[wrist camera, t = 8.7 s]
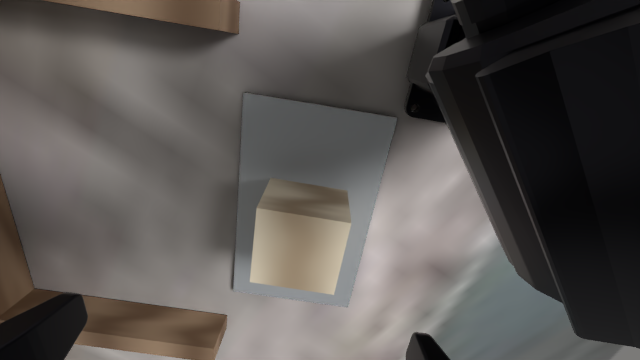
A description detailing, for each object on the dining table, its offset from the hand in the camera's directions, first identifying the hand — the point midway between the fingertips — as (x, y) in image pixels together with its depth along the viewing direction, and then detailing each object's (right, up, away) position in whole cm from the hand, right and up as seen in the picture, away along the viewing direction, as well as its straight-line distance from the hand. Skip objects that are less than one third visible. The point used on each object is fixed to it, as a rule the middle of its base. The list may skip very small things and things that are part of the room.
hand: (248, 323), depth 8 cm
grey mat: (+1, +2, +12) cm, 12 cm away
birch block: (+1, +1, +12) cm, 12 cm away
